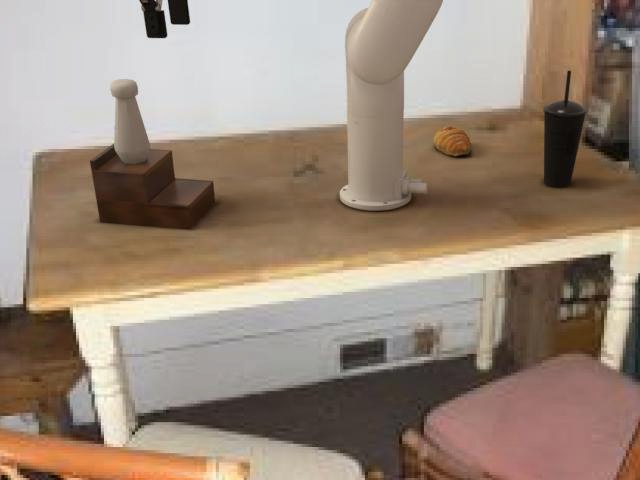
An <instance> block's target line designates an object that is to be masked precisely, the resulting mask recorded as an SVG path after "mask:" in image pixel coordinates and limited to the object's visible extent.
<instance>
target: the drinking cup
mask: <svg viewBox="0 0 640 480" xmlns="http://www.w3.org/2000/svg"><path fill="white" fill-rule="evenodd" d="M571 78H572V71H571V70H567V71H566V78H565V79H566V80H565V88H564V89H565V90H564V99H559V100H555V101H552V102H550V103H546V104H545V105H543V106H542V111H543V113H544V114H543V115H544V119H543V121H544V123H543V183H544V185H546V186H548V187H551V188H566V187H569V186H571V184H572V180H573V174H574V169H575V164H576V160H577V155H578V151H579V145H580V141H581V138H582V137H581V136H582V132H583V128H584V123H585V118H586V115H587V114H588V108H587V107H586V106H585V105H583V104H581V103H579V102H577V101H575V100H569V96H570V88H571V87H570V86H571V80H572V79H571Z"/></svg>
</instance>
